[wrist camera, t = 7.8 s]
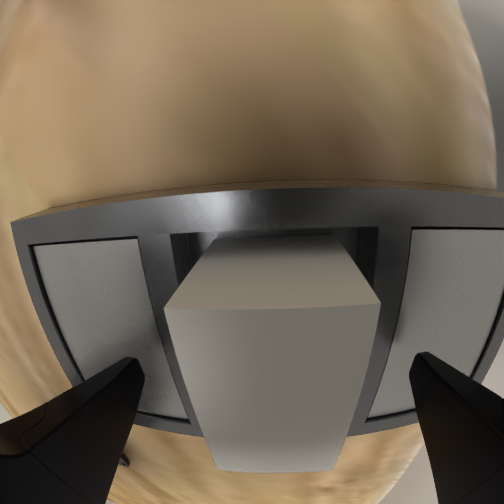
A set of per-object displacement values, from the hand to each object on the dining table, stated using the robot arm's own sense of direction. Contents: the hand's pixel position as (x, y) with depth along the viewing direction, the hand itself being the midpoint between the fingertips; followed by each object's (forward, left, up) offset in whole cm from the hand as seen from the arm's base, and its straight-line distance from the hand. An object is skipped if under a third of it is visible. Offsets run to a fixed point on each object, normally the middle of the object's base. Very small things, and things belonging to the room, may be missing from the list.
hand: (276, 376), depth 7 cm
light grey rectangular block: (0, 0, -3) cm, 3 cm away
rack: (0, 0, -3) cm, 3 cm away
